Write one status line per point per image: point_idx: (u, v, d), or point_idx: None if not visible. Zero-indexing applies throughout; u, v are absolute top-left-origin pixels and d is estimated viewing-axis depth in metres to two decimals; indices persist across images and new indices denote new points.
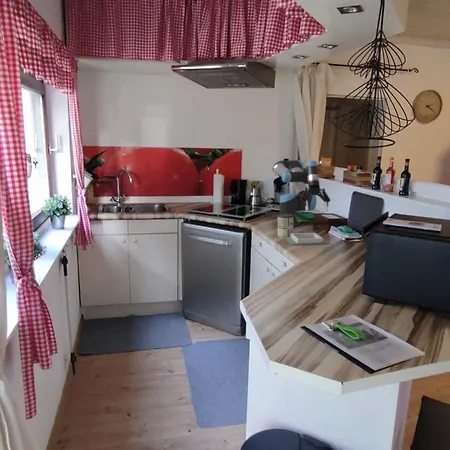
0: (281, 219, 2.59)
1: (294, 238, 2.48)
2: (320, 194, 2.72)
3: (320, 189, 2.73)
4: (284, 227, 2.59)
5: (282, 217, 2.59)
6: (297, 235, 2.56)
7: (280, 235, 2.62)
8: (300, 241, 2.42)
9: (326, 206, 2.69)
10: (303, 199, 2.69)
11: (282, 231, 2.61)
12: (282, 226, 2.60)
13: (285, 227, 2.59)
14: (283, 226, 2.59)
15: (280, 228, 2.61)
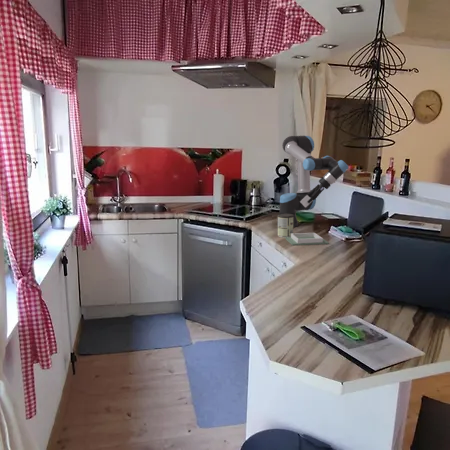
0: (281, 219, 2.59)
1: (294, 238, 2.48)
2: None
3: None
4: (284, 227, 2.59)
5: (282, 217, 2.59)
6: (297, 235, 2.56)
7: (280, 235, 2.62)
8: (300, 241, 2.42)
9: (306, 201, 2.66)
10: None
11: (282, 231, 2.61)
12: (282, 226, 2.60)
13: (285, 227, 2.59)
14: (283, 226, 2.59)
15: (280, 228, 2.61)
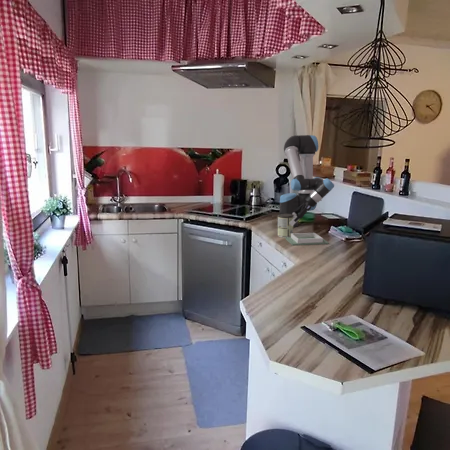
0: (281, 219, 2.59)
1: (294, 238, 2.48)
2: None
3: None
4: (284, 227, 2.59)
5: (282, 217, 2.59)
6: (297, 235, 2.56)
7: (280, 235, 2.62)
8: (300, 241, 2.42)
9: (293, 218, 2.68)
10: None
11: (282, 231, 2.61)
12: (282, 226, 2.60)
13: (285, 227, 2.59)
14: (283, 226, 2.59)
15: (280, 228, 2.61)
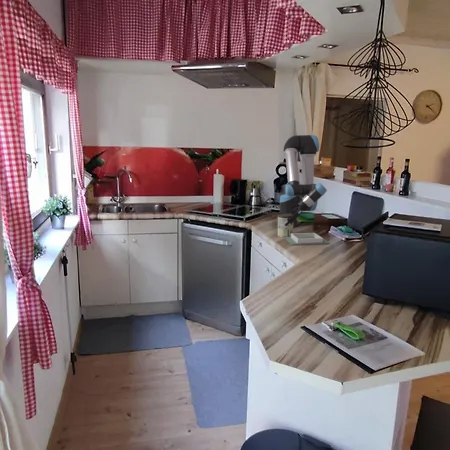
0: (281, 219, 2.59)
1: (294, 238, 2.48)
2: None
3: None
4: None
5: (282, 217, 2.59)
6: (297, 235, 2.56)
7: (280, 235, 2.62)
8: (300, 241, 2.42)
9: None
10: None
11: (282, 231, 2.60)
12: None
13: None
14: None
15: (280, 228, 2.61)
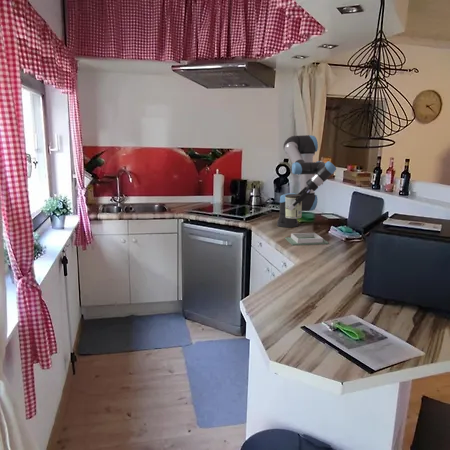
0: (289, 199, 2.50)
1: (294, 238, 2.48)
2: None
3: None
4: None
5: (290, 197, 2.49)
6: (297, 235, 2.56)
7: (288, 216, 2.52)
8: (300, 241, 2.42)
9: None
10: None
11: (290, 212, 2.51)
12: None
13: None
14: None
15: (288, 209, 2.51)
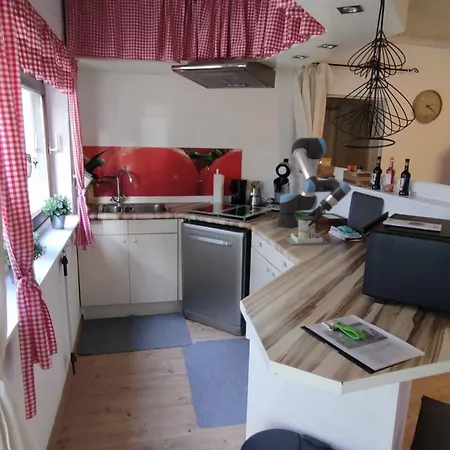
0: (302, 222, 2.44)
1: (294, 238, 2.48)
2: None
3: None
4: (306, 231, 2.44)
5: (303, 220, 2.43)
6: (297, 235, 2.56)
7: None
8: (300, 241, 2.42)
9: None
10: None
11: (303, 235, 2.45)
12: (303, 229, 2.45)
13: None
14: None
15: (301, 231, 2.46)
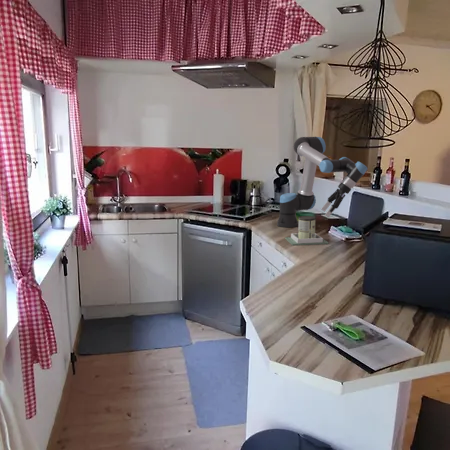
0: (302, 222, 2.44)
1: (294, 238, 2.48)
2: None
3: None
4: (306, 231, 2.44)
5: (304, 220, 2.43)
6: (297, 235, 2.56)
7: None
8: (300, 241, 2.42)
9: (327, 207, 2.56)
10: (336, 207, 2.40)
11: (303, 235, 2.45)
12: (303, 229, 2.45)
13: (306, 230, 2.44)
14: (305, 230, 2.44)
15: (301, 231, 2.46)
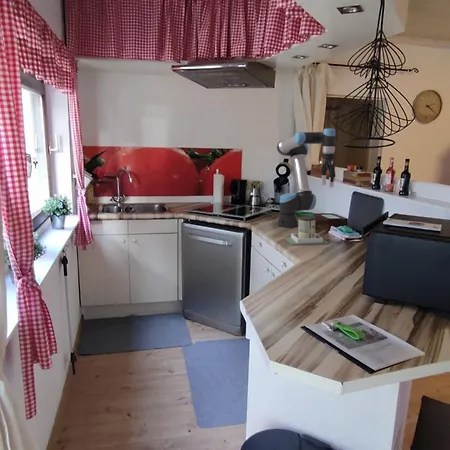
0: (302, 222, 2.44)
1: (294, 238, 2.48)
2: None
3: None
4: (306, 231, 2.44)
5: (303, 220, 2.43)
6: (297, 235, 2.56)
7: None
8: (300, 241, 2.42)
9: (325, 180, 2.70)
10: (333, 175, 2.54)
11: (303, 235, 2.45)
12: (303, 229, 2.45)
13: (306, 230, 2.44)
14: (305, 230, 2.44)
15: (301, 231, 2.46)
